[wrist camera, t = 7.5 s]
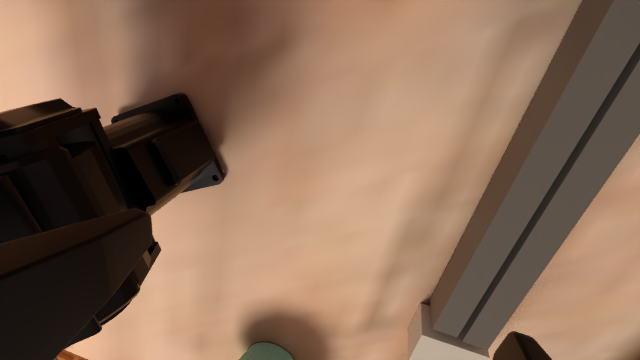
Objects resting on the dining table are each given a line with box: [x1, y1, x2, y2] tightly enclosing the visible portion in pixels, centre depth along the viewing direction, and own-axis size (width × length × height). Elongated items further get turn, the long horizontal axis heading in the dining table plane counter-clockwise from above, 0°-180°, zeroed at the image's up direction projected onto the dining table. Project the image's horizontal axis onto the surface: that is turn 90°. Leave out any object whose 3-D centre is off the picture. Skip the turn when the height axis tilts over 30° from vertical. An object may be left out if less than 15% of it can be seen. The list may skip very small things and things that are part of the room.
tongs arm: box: [430, 0, 640, 337], centre depth 17 cm, size 24×2×3 cm, turn 169°
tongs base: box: [408, 43, 640, 360], centre depth 17 cm, size 28×5×3 cm, turn 169°
